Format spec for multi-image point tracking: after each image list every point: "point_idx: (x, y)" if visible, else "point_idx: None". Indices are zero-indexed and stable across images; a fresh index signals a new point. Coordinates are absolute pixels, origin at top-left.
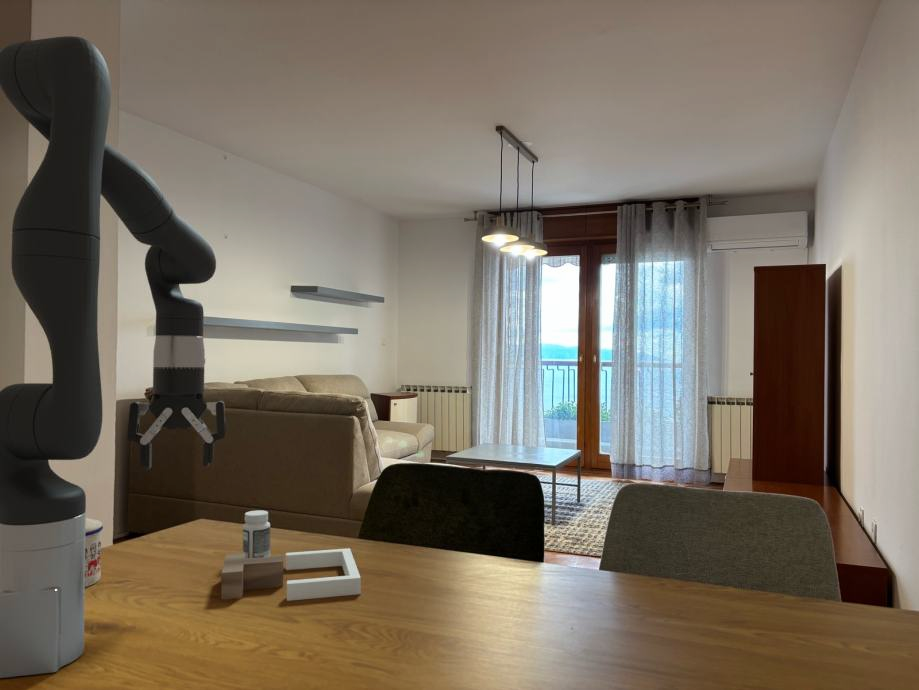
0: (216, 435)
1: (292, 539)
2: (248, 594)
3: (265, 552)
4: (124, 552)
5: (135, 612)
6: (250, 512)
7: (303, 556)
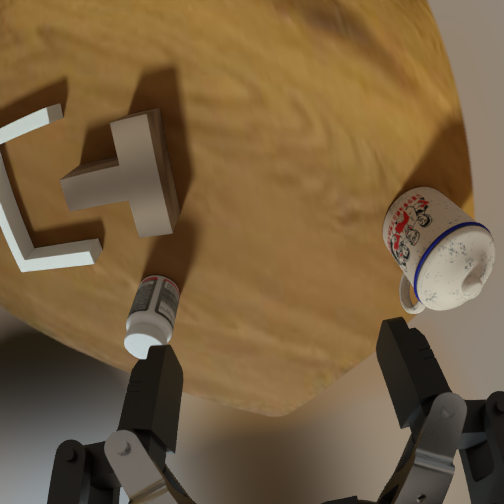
0: (96, 462)
1: None
2: None
3: (138, 288)
4: (361, 332)
5: (294, 66)
6: None
7: (68, 252)
